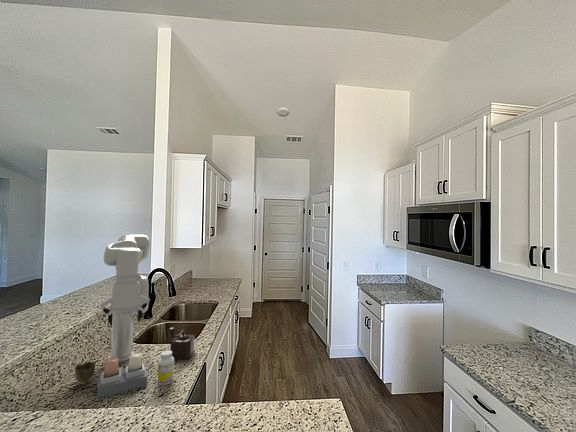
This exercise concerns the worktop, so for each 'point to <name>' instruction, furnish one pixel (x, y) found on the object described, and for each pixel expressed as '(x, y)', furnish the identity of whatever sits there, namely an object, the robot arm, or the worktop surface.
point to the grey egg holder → (121, 381)
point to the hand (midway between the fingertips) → (125, 322)
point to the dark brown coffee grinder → (181, 344)
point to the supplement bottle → (166, 368)
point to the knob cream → (135, 361)
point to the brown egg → (111, 366)
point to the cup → (84, 372)
